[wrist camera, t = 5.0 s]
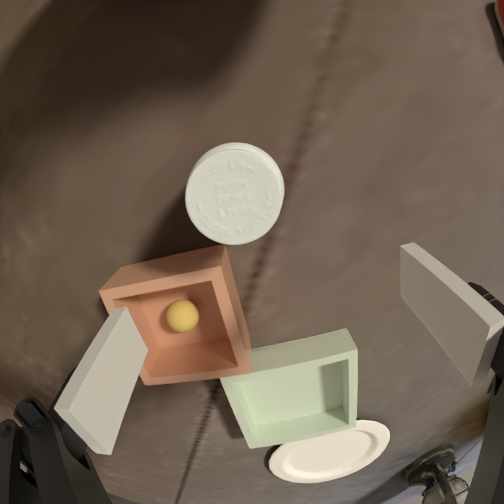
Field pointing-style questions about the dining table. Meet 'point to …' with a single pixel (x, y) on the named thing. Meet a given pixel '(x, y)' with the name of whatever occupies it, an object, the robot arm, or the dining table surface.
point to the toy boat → (500, 14)
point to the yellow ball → (182, 316)
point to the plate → (330, 453)
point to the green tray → (297, 390)
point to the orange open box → (207, 303)
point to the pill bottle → (234, 193)
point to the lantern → (437, 477)
